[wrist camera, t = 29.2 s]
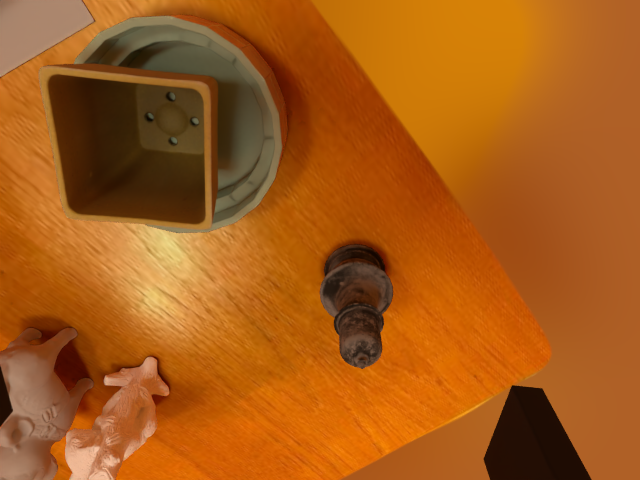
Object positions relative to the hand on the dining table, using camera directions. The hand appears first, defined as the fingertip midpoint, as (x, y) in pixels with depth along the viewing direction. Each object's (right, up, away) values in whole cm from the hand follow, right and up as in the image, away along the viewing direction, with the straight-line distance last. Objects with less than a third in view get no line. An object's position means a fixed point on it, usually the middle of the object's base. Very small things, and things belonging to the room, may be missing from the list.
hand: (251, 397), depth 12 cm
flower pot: (-9, +13, +22) cm, 27 cm away
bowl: (-8, +13, +22) cm, 27 cm away
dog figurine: (-24, -9, +34) cm, 42 cm away
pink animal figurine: (-16, -10, +34) cm, 39 cm away
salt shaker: (+5, +1, +28) cm, 28 cm away
